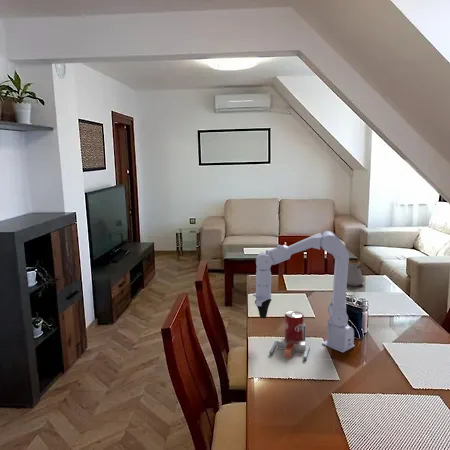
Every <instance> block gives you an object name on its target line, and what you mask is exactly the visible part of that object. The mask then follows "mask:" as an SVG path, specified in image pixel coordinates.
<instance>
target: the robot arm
mask: <svg viewBox="0 0 450 450" xmlns="http://www.w3.org/2000/svg"><path fill="white" fill-rule="evenodd" d="M311 248H312V249H316V250H321V248H322V250H323V251H325V252H327V253H328V254H331V255H332V256H333V257H334V270H333V272H334V273H333V282H332V283H333V287H332V297H331V299H330V303H329V305H328V307H327V313H328V315H329V318H328V320H327V327H326V328H327V332H326V340H325V341H323V342H321V344H322V345H323V346H326V347H328V348H331V349H333V350H335V351H337V352H338V351H339V352H341V353H345V352H347V351H349V350H350V349H352V348H355V344H354V341H355V330H354V328H353V327H352V326H350V325H349V323H348V322H349V315H348V314H347V304H346V302H347V301H346V298H347V287H348V285H347V276H348V267H349V261H350V254H349V251H348V249H347V248H346V247H345V245H344V244H343V242H342V241H341V239H340V238H339V236H338V235H336V234H335V233H334V232H332V231H330V230H324V231H323V232H319V233H318V232H317V233H315V234H312V235H310V236H309V237H307V238H304V239H302V240H299V241H297V242H295V243H293V244H291V245H289V246H288V245H286V244H283V245H281V244H278V245H276V247H275V248H272V249H270V250H269V249H266V250H265V252H264V251H261V252H260V253H258V254H257V256H256V258H255V264H256V272H255V292H254V293H252V297H255V301H254V303H255V306H256V307H257V310H258V311H257V312H258V314H259V318H260V319H266V318H267V316H268V310H269V306H270V304H271V302H272V291H271V290H272V272H271V267H272V266H274V265H275V266H276V265H277V264H281V263H282V262H284V261H287V260H290V259H291V256H292V255H294V254H298V253H300V252H303V251H305V250H308V249H311Z"/></svg>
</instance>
